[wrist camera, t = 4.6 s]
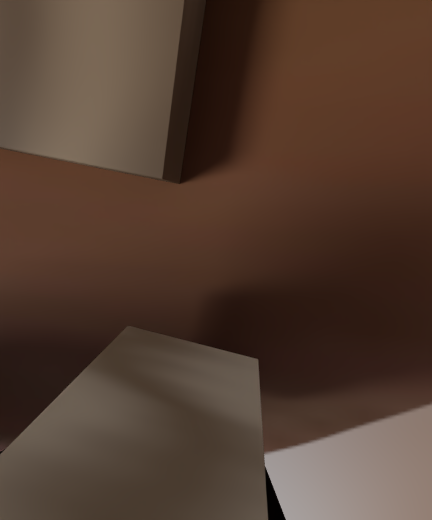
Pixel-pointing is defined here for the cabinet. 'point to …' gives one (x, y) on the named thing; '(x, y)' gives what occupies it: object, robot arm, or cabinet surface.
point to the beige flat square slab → (100, 81)
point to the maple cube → (144, 439)
